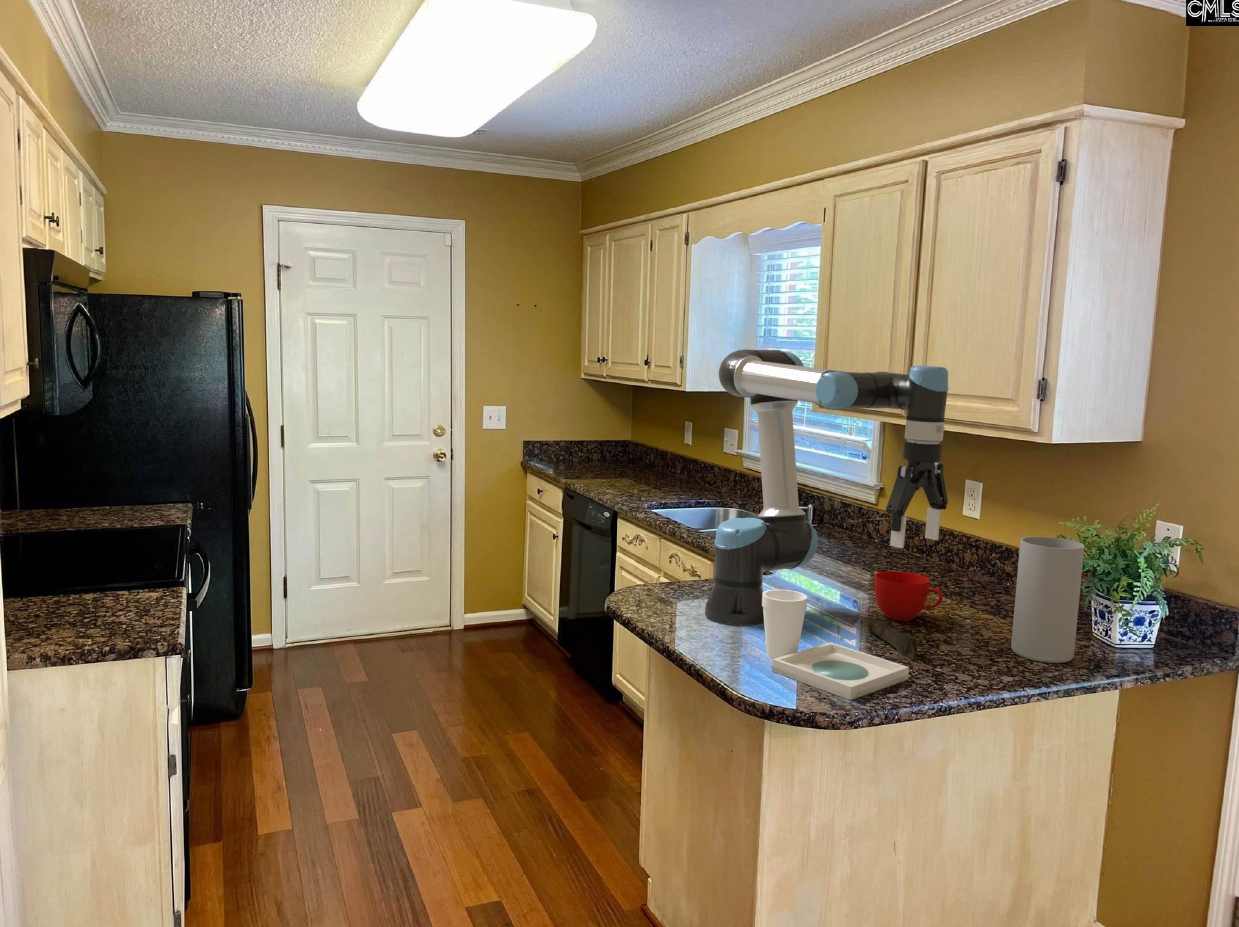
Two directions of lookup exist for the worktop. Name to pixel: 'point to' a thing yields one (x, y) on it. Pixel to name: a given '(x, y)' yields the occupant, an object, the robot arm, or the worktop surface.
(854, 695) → the square white tray
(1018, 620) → the cylinder vase
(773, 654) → the foam cup
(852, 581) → the worktop surface
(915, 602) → the ceramic cup
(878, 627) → the hand tool
